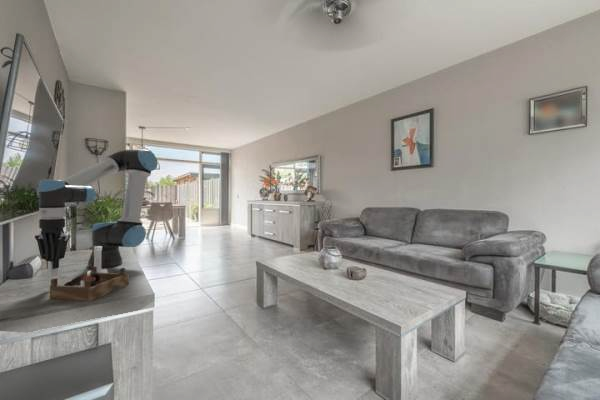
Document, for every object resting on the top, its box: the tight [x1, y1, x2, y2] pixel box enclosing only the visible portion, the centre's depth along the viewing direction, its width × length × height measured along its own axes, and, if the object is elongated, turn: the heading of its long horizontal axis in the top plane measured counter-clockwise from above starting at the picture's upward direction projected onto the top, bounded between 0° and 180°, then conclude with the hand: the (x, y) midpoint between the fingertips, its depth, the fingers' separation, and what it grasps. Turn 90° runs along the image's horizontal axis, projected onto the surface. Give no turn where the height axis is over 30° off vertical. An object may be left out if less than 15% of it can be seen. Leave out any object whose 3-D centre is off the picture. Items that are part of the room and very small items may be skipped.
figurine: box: [86, 246, 109, 276], centre depth 116 cm, size 7×9×15 cm
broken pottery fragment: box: [63, 272, 100, 287], centre depth 102 cm, size 12×10×8 cm
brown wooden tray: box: [49, 267, 129, 302], centre depth 103 cm, size 18×16×7 cm
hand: (52, 276), depth 104 cm, fingers closed
